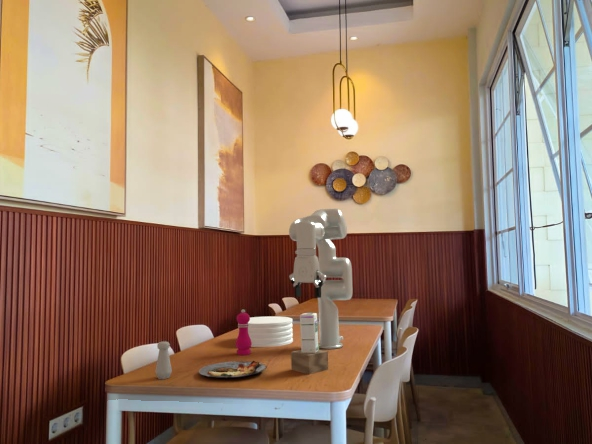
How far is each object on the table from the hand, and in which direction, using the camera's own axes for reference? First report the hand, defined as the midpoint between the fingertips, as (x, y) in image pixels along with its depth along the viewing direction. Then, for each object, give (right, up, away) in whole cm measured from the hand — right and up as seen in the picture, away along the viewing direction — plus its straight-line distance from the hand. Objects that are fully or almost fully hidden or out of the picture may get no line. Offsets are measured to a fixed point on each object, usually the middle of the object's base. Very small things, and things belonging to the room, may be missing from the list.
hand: (307, 297), depth 180 cm
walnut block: (+1, -28, -3) cm, 28 cm away
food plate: (-28, -28, -5) cm, 40 cm away
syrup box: (+1, -21, -2) cm, 21 cm away
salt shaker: (-53, -28, -10) cm, 61 cm away
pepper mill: (-28, -31, +30) cm, 52 cm away
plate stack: (-20, -33, +59) cm, 71 cm away
